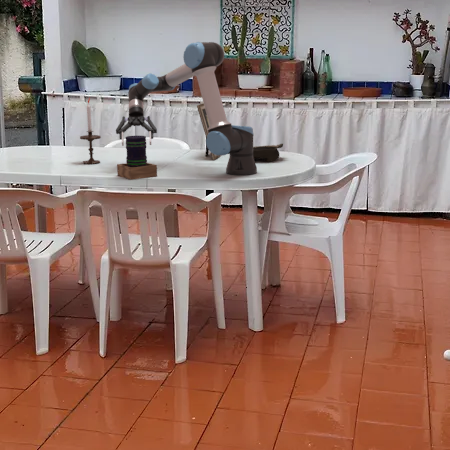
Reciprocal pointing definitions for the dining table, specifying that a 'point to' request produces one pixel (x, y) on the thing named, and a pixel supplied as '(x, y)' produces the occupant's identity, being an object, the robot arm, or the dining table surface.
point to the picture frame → (205, 126)
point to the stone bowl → (267, 152)
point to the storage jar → (136, 151)
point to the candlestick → (90, 137)
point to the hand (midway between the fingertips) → (136, 143)
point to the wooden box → (137, 171)
